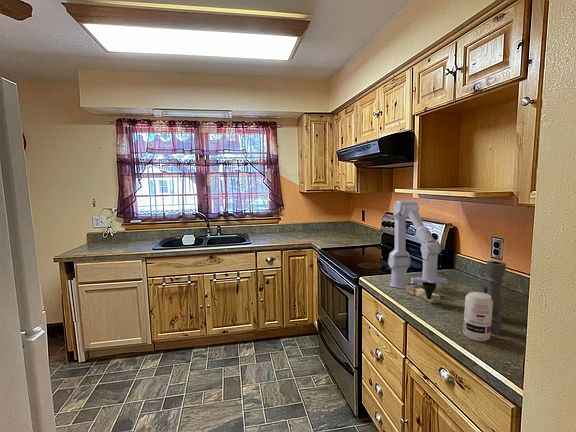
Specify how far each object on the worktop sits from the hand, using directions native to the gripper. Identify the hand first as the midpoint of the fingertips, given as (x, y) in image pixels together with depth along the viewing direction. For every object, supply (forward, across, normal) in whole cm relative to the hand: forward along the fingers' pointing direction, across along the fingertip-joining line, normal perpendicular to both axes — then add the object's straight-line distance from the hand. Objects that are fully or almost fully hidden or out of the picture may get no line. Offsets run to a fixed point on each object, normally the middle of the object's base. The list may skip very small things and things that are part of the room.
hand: (428, 298), depth 143 cm
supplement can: (+2, +7, -29) cm, 30 cm away
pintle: (+2, -3, +12) cm, 12 cm away
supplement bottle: (+2, +19, -13) cm, 23 cm away
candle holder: (+2, +15, -24) cm, 28 cm away
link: (+1, 0, +6) cm, 7 cm away
